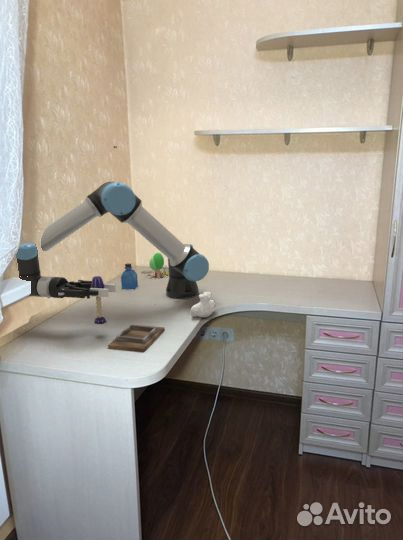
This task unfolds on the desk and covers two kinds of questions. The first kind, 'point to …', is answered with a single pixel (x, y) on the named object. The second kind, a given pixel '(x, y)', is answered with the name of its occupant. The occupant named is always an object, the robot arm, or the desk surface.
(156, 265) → the green toy tree
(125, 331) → the plate
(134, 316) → the desk surface
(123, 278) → the perfume bottle
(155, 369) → the desk surface
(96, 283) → the toy lamp
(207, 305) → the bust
